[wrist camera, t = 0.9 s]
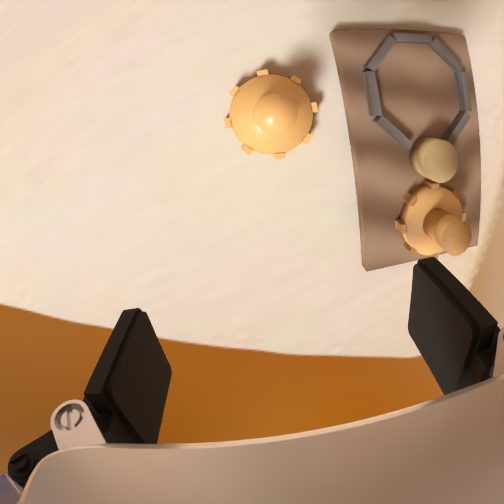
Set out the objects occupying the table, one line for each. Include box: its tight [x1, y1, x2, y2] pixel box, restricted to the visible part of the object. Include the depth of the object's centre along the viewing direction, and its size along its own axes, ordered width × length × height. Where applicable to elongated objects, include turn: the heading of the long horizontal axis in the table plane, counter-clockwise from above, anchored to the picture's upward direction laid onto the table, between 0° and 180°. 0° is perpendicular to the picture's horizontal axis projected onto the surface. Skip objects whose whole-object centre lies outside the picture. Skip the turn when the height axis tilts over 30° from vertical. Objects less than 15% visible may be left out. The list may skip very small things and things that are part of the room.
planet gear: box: [224, 69, 318, 160], centre depth 25 cm, size 8×8×6 cm
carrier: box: [329, 29, 481, 271], centre depth 25 cm, size 24×15×8 cm, turn 12°
